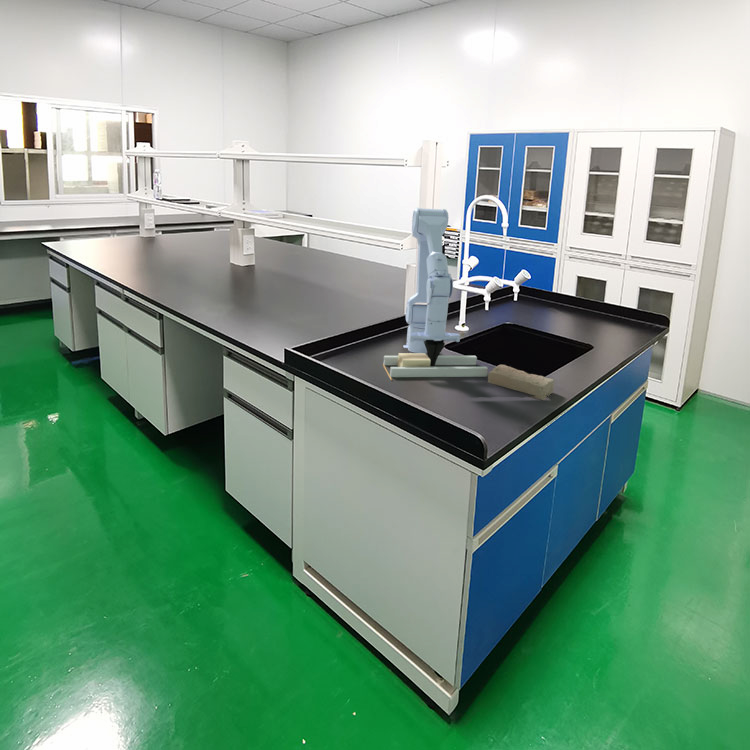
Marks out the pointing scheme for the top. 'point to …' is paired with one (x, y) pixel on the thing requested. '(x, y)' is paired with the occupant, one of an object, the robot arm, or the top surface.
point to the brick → (521, 381)
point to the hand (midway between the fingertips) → (431, 364)
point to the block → (413, 360)
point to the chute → (437, 368)
